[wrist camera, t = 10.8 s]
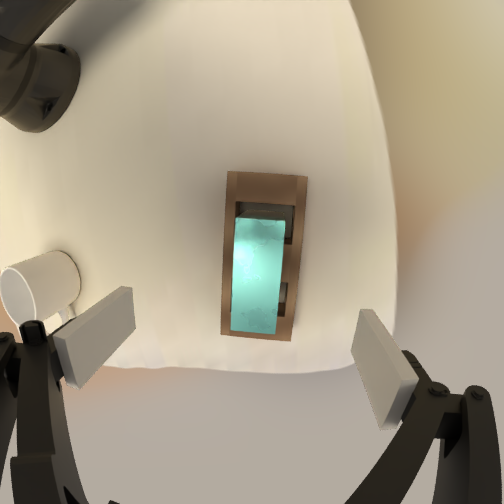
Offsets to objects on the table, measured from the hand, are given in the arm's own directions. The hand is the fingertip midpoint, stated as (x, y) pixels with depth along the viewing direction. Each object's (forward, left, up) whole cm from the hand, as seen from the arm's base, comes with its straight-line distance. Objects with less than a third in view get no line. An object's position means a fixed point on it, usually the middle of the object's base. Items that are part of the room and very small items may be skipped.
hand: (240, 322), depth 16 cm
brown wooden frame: (0, 0, -19) cm, 19 cm away
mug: (-30, -8, -19) cm, 36 cm away
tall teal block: (0, 0, -19) cm, 19 cm away
